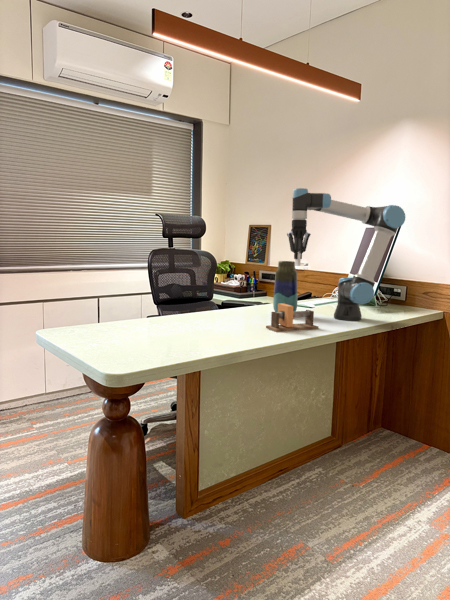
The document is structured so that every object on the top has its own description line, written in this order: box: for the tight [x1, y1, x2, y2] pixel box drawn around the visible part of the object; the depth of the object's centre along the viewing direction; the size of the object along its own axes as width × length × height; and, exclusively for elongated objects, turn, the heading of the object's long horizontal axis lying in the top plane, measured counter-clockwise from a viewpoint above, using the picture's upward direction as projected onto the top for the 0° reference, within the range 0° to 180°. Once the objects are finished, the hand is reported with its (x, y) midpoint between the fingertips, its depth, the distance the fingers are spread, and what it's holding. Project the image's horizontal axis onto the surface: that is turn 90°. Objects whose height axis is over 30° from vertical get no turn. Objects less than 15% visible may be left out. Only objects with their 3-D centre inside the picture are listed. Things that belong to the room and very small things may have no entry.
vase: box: [272, 260, 298, 312], centre depth 266 cm, size 14×14×31 cm
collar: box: [278, 303, 294, 327], centre depth 226 cm, size 3×10×10 cm, turn 22°
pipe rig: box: [265, 309, 320, 333], centre depth 228 cm, size 24×10×9 cm, turn 112°
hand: (297, 265), depth 239 cm, fingers closed
